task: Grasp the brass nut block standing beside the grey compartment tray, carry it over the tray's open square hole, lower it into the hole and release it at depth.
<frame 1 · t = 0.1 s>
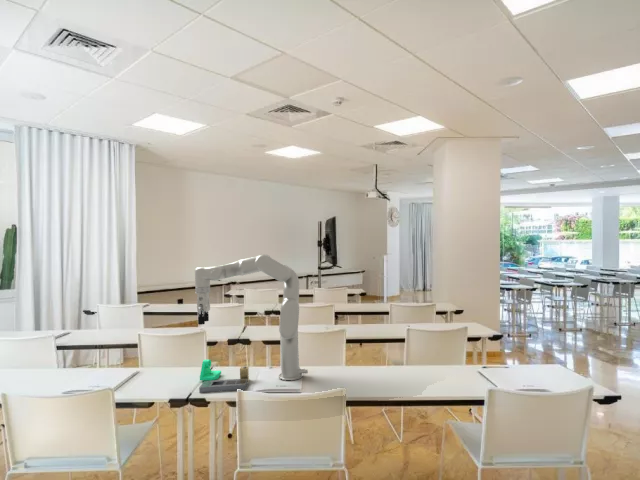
hand: (203, 322, 205), 31 cm above the table, fingers open, 9 cm apart
grey compartment tray: (224, 387, 194), on the table
nut block: (244, 381, 203), on the table
camera mount: (211, 379, 210), on the table
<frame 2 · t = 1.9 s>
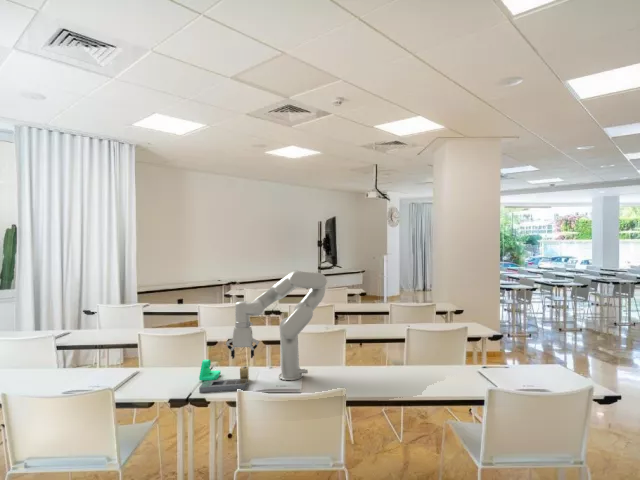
hand: (242, 357, 204), 12 cm above the table, fingers open, 9 cm apart
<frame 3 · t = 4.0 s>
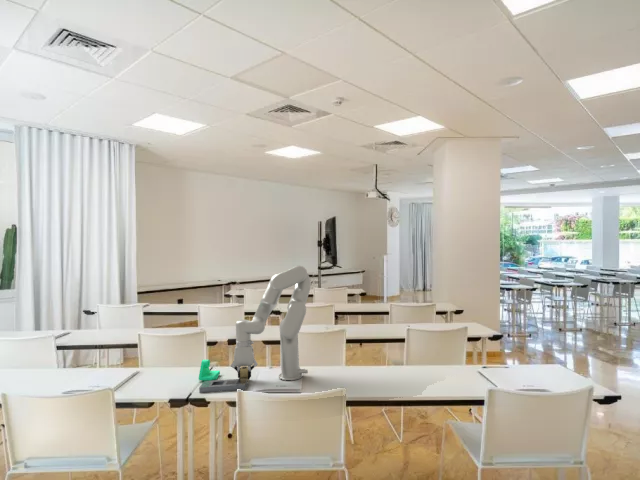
hand: (244, 378, 203), 1 cm above the table, fingers closed on nut block, 4 cm apart
nut block: (244, 381, 203), on the table, touching gripper
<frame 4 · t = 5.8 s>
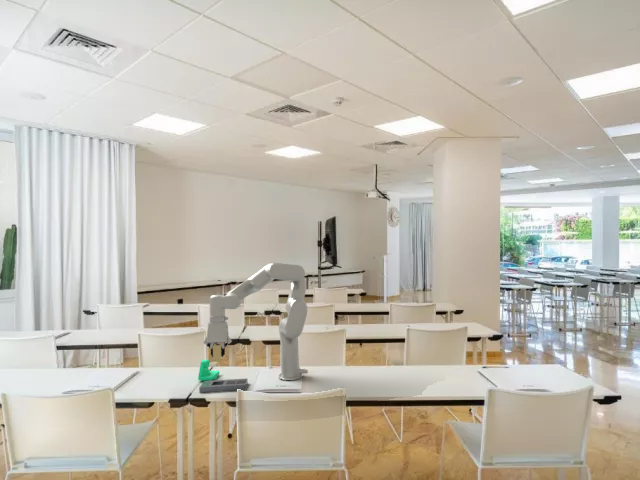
hand: (217, 355, 194), 16 cm above the table, fingers closed on nut block, 4 cm apart
nut block: (217, 358, 194), point 15 cm above the table, touching gripper
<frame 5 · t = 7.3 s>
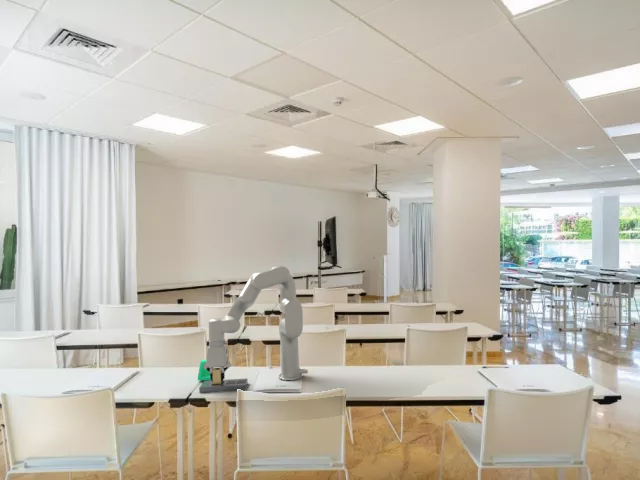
hand: (217, 380, 194), 4 cm above the table, fingers closed on nut block, 4 cm apart
nut block: (217, 382, 194), point 3 cm above the table, touching gripper
when the fingers open (3 cm above the table, at t = 8.1 s): nut block drops 2 cm, resting in grey compartment tray.
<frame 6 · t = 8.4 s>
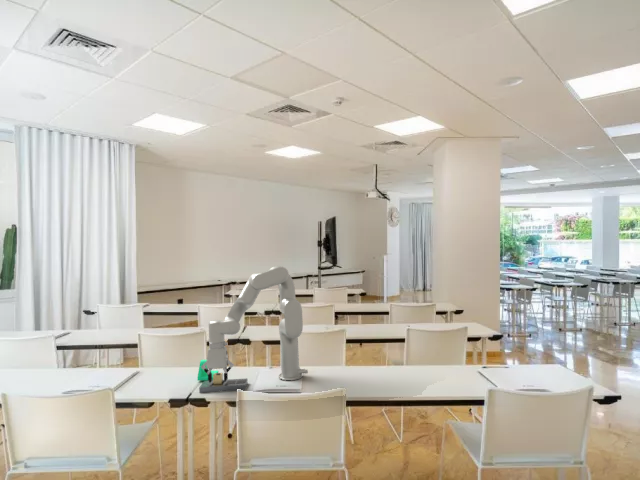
hand: (217, 381, 194), 4 cm above the table, fingers open, 6 cm apart
nut block: (218, 388, 194), resting in grey compartment tray
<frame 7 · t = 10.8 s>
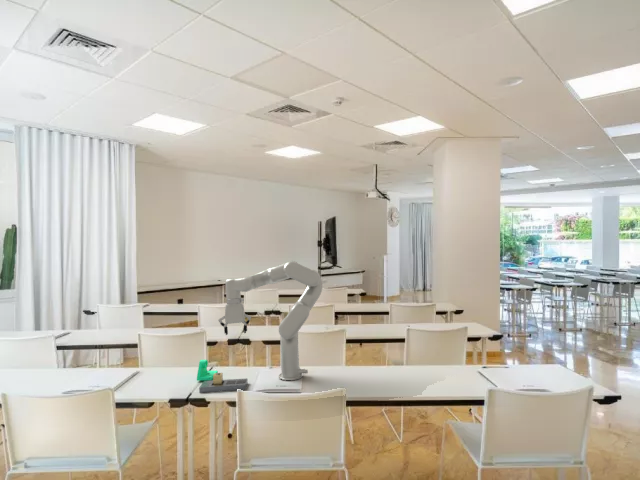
hand: (236, 333, 207), 24 cm above the table, fingers open, 9 cm apart
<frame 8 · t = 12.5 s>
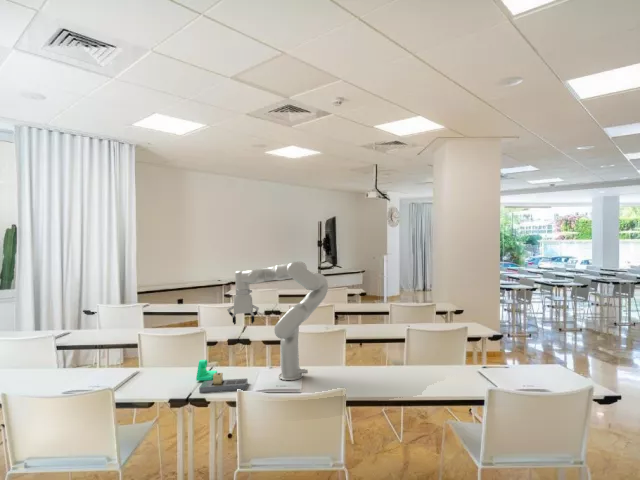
hand: (243, 323, 214), 28 cm above the table, fingers open, 9 cm apart
at the end: nut block 0.1 cm from the target spot on the grey compartment tray, point 0.0 cm above the grey compartment tray's base; the gripper is holding nothing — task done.
